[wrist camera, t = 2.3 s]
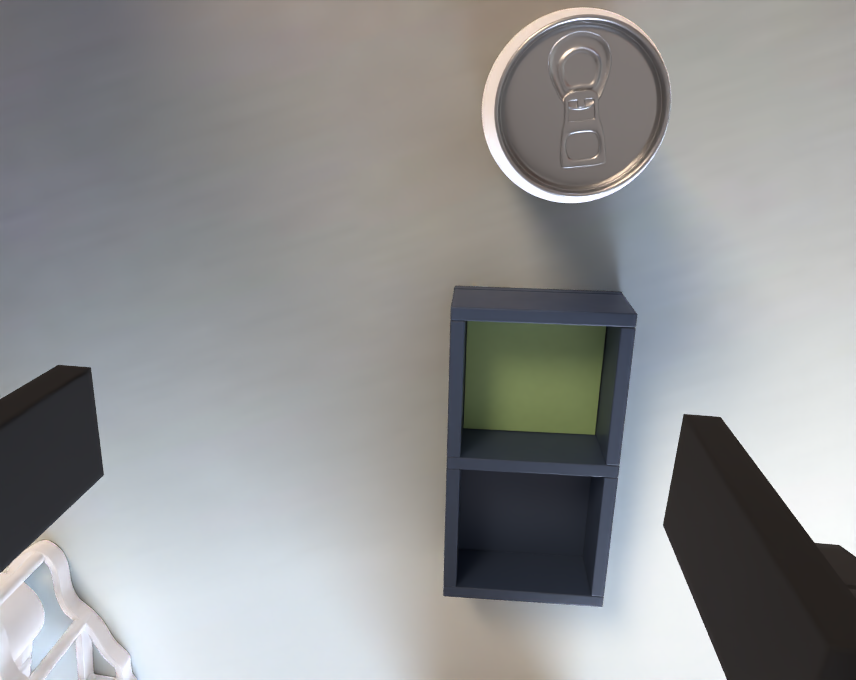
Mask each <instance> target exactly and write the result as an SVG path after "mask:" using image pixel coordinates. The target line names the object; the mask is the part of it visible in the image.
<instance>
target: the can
mask: <svg viewBox="0 0 856 680" xmlns="http://www.w3.org/2000/svg"><path fill="white" fill-rule="evenodd" d="M670 111H671V86H670V80H669V75H668V71H667V68H666V65H665V63H664V60H663V58H662V56H661V54H660V52H659V50H658V49H657V47H656V46H655V44H654V43H653V41H652V40H651V39H650V38H649V36H648V35H647V34H646V33H645V32H644V31H643V30H642V29H641V28H639V27H638V26H637V25H636V24H634V23H633V22H631V21H630V20H628V19H626V18H625V17H623V16H621V15H618V14H616V13H613V12H610V11H607V10H603V9H598V8H588V7H579V8H569V9H564V10H560V11H556V12H553V13H550V14H547V15H545V16H543V17H541V18H539V19H537V20H535V21H533V22H532V23H530V24H529V25H527V26H526V27H525V28H523V29H522V30H521V31H520V32H518V33H517V34H516V35H515V36H514V37H513V38H512V39H511V40H510V41H509V42H508V44H507V45H506V46H505V47H504V49H503V50H502V51H501V53H500V54H499V56H498V57H497V59H496V61H495V63H494V64H493V67H492V69H491V71H490V73H489V76H488V79H487V82H486V85H485V89H484V94H483V101H482V123H483V130H484V134H485V138H486V141H487V144H488V147H489V149H490V152H491V154H492V156H493V158H494V159H495V161H496V163H497V164H498V166H499V167H500V168H501V170H502V171H503V172H504V173H505V175H506V176H507V177H508V178H509V179H510V180H511V181H513V182H514V183H515V184H516V185H517V186H519V187H520V188H522V189H523V190H525V191H526V192H528V193H530V194H532V195H534V196H537V197H539V198H542V199H545V200H549V201H554V202H560V203H581V202H588V201H592V200H596V199H599V198H602V197H605V196H607V195H610V194H612V193H614V192H616V191H618V190H619V189H621V188H623V187H624V186H626V185H627V184H628V183H630V182H631V181H632V180H633V179H635V178H636V177H637V176H638V175H639V174H640V173H641V172H642V171H643V170H644V169H645V167H646V166H647V165H648V164H649V162H650V161H651V160H652V158H653V157H654V155H655V154H656V152H657V150H658V148H659V147H660V145H661V142H662V140H663V138H664V135H665V133H666V129H667V126H668V122H669V117H670Z"/></svg>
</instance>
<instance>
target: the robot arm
mask: <svg viewBox="0 0 856 680" xmlns="http://www.w3.org/2000/svg"><path fill="white" fill-rule="evenodd" d="M103 475H104V472H103V464H102V456H101V448H100V439H99V431H98V423H97V415H96V407H95V398H94V390H93V382H92V374H91V368H90V367H77V366H65V365H57V366H56V367H54V368H52V369H51V370H49V371H47V372H46V373H44V374H42V375H40V376H39V377H37V378H35V379H34V380H32V381H30V382H29V383H27V384H25V385H24V386H22V387H20V388H19V389H17V390H15V391H13V392H12V393H10V394H8V395H7V396H5V397H3V398H2V399H0V573H1V572H2V571H3V570H4V569H5V568H6V567H7V566H8V565H9V564H10V563H11V562H12V561H13V560H15V559H16V558H17V557H18V556H19V555H20V554H21V553H22V552H23V551H24V550H25V549H26V548H27V547H28V546H29V545H30V544H31V543H32V542H34V541H35V540H36V539H37V538H38V537H39V536H40V535H41V534H42V533H43V532H44V531H45V530H46V529H47V528H48V527H49V526H50V525H52V524H53V523H54V522H55V521H56V520H57V519H58V518H59V517H60V516H61V515H62V514H63V513H64V512H65V511H66V510H67V509H68V508H69V507H71V506H72V505H73V504H74V503H75V502H76V501H77V500H78V499H79V498H80V497H81V496H82V495H83V494H84V493H85V492H86V491H87V490H89V489H90V488H91V487H92V486H93V485H94V484H95V483H96V482H97V481H98V480H99V479H100V478H101V477H102V476H103ZM663 526H664V528H665V531H666V533H667V536H668V538H669V541H670V543H671V545H672V548H673V550H674V553H675V555H676V557H677V560H678V562H679V565H680V567H681V570H682V572H683V574H684V577H685V579H686V582H687V584H688V586H689V589H690V591H691V594H692V596H693V599H694V601H695V603H696V606H697V608H698V611H699V613H700V615H701V618H702V620H703V623H704V625H705V628H706V630H707V632H708V635H709V637H710V640H711V642H712V644H713V647H714V649H715V652H716V654H717V656H718V659H719V661H720V664H721V666H722V669H723V671H724V673H725V676H726V678H727V680H856V557H855V556H854V555H852V554H851V553H850V552H848V551H847V550H845V549H844V548H843V547H841V546H840V545H832V544H821V543H814V542H813V540H812V539H811V538H810V536H809V535H808V534H807V532H806V531H805V530H804V528H803V527H802V526H801V524H800V523H799V522H798V520H797V519H796V518H795V516H794V515H793V514H792V512H791V511H790V510H789V508H788V507H787V505H786V504H785V503H784V501H783V500H782V499H781V497H780V496H779V495H778V493H777V492H776V491H775V489H774V488H773V487H772V485H771V484H770V483H769V481H768V480H767V479H766V477H765V476H764V475H763V473H762V472H761V471H760V469H759V468H758V467H757V465H756V464H755V463H754V461H753V460H752V459H751V457H750V456H749V455H748V453H747V452H746V451H745V449H744V448H743V446H742V445H741V444H740V442H739V441H738V440H737V438H736V437H735V436H734V434H733V433H732V432H731V430H730V429H729V428H728V426H727V425H726V424H725V422H724V421H723V420H722V418H721V417H713V416H701V415H688V414H684V415H683V421H682V426H681V432H680V437H679V442H678V448H677V453H676V458H675V464H674V469H673V475H672V480H671V485H670V491H669V496H668V501H667V507H666V512H665V518H664V523H663Z"/></svg>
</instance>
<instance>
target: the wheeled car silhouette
mask: <svg viewBox="0 0 856 680" xmlns="http://www.w3.org/2000/svg"><path fill="white" fill-rule="evenodd" d="M42 562H45V563H46V565H47V566H48V568H49V569H50V571H51V575H52V579H53V585H54V591H55V595H56V599H57V601H58V603H59V605H60V607H61V609H62V610H63V612H64V613H65V614H66V615H67V616H68V617H69V618H71V619H72V620H73V621H74V622H73V623H72V624H71V625H70V627H69V628H68V629H67V630H66V632H65V633H64V634H63V635H62V637H61V638H60V639H59V640H58V641H57V643H56V644H55V645H54V646H53V648H52V649H51V650H50V651H49V653H48V654H47V655H46V656H45V658H44V659H43V660H42V661H41V663H40V664H39V665H38V666H37V668H36V669H35V670H34V671H33V673H32V674H30V673H31V664H32V660H31V653H32V648H33V639H34V638H35V637H36V636H37V635H38V633H39V632H40V630H41V628H42V627H43V625H44V618H45V613H44V609H43V605H42V602H41V601H40V599H39V598H38V596H37V595H36V593H35V592H34V591H33V590H32V589H31V588H30V587H29V586H28V585H27V584H26V583H25V582H24V581H25V580H26V579H27V578H28V577H29V576H30V575H31V574H32V573H33V571H34V570H35V569H36V568H37V567H38V566H39V565H40V564H41V563H42ZM74 641H75V644H76V656H77V672H78V680H138V679H137V678H136V677H135V676H134V675H133V673H132V668H131V661H130V659H131V657H130V655H129V653H128V652H127V651H126V650H125V649H124V648H123V647H122V646H121V645H119V644H118V643H117V641H116V640H115V639H114V637H113V636H112V634H111V633H110V631H109V629H108V628H107V626H106V624H105V623H104V622H103V620H102V619H101V618H100V616H99V615H98V614H97V613H96V612H95V611H94V610H93V609H91V608H90V607H89V606H88V605H87V604H85V603H84V602H83V601H82V600H80V599H79V597H78V596H77V594H76V593H75V590H74V588H73V586H72V582H71V577H70V569H69V565H68V561H67V558H66V556H65V555H64V553H63V551H62V550H61V549H60V548H59V547H58V546H57V545H56V544H54V543H53V542H51V541H48V540H42V541H40V542H37V543H36V544H34V545H32V546H30V547H29V548H27V549H25V550H24V551H23V552H22V553H21V554H20V555H19V556H18V557H17V558H16V559H15V560H14V561H13V562H12V563H11V564H10V566H9V567H8V569H7V571H6V574H5V573H2V572H1V573H0V680H44V679H45V678H46V677H47V675H48V674H49V673H50V672H51V670H52V669H53V668H54V666H55V665H56V664H57V663H58V661H59V660H60V659H61V657H62V656H63V655H64V653H65V652H66V651H67V650H68V648H69V647H70V646H71V644H72V643H73V642H74ZM92 641H93V643H94V644H95V646H96V647H97V649H98V651H99V652H100V654H101V655H102V656H103V657H104V659H105V660H107V661H108V662H109V663H110V664H111V665H112V666H113V667H114V668H115V671H116V676H117V678H116V677H109V676H102V675H97V674H94V669H93V650H92Z"/></svg>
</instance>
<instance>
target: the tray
mask: <svg viewBox="0 0 856 680" xmlns="http://www.w3.org/2000/svg"><path fill="white" fill-rule="evenodd" d="M636 321H637V313H636V312H635V311H634V309H633V308H632V306H631V305H630V304H629V302H628V301H627V299H626V298H625V297H624V295H623V294H622V292H616V291H587V290H558V289H529V288H500V287H470V286H455V288H454V293H453V299H452V304H451V322H450V358H449V397H448V435H447V473H446V511H445V550H444V589H443V595H444V596H450V597H464V598H479V599H494V600H509V601H523V602H538V603H553V604H568V605H582V606H597V607H602V606H603V598H604V597H603V596H604V590H605V581H606V573H607V564H608V556H609V548H610V539H611V531H612V523H613V514H614V506H615V497H616V489H617V481H618V472H619V463H620V455H621V446H622V438H623V430H624V421H625V413H626V405H627V396H628V388H629V379H630V371H631V363H632V354H633V346H634V337H635V326H636Z"/></svg>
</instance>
